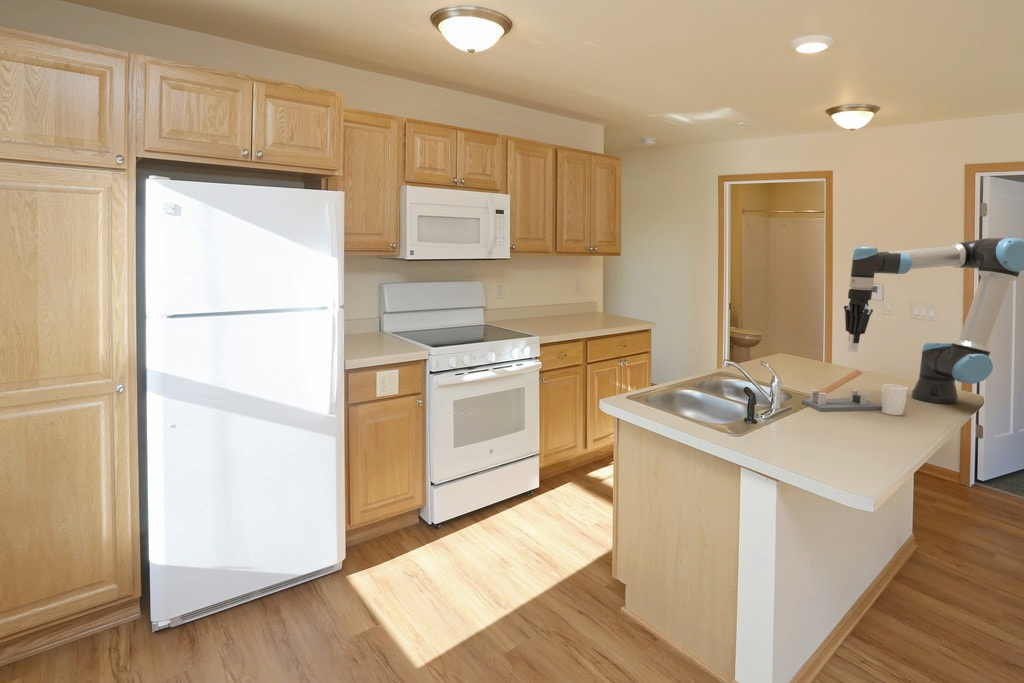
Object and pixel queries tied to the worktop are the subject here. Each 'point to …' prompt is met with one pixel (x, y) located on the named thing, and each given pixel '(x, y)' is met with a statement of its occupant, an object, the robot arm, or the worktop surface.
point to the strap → (839, 383)
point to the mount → (841, 403)
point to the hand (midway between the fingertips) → (852, 351)
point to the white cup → (893, 399)
